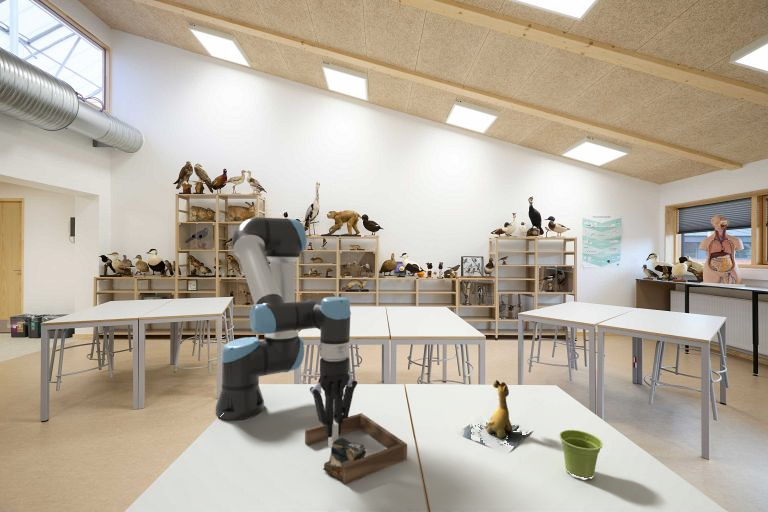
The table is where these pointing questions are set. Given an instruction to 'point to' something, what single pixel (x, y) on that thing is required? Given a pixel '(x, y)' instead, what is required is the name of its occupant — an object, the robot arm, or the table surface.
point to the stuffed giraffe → (500, 420)
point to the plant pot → (580, 452)
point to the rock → (343, 456)
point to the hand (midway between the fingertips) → (333, 447)
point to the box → (369, 463)
